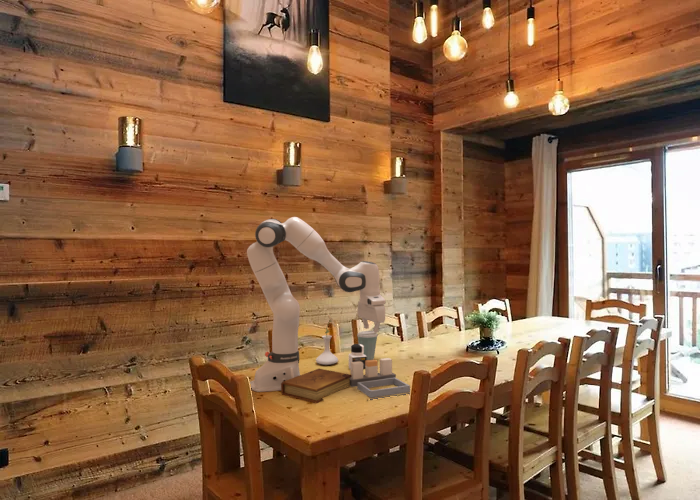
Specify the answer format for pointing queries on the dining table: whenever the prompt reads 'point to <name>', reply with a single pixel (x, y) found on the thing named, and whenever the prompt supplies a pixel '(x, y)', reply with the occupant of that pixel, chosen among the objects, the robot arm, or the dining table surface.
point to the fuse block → (370, 379)
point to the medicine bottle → (357, 354)
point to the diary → (315, 385)
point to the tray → (383, 392)
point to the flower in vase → (327, 349)
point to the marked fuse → (371, 368)
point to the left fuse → (357, 370)
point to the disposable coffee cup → (368, 343)
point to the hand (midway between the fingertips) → (371, 330)
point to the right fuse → (385, 366)
